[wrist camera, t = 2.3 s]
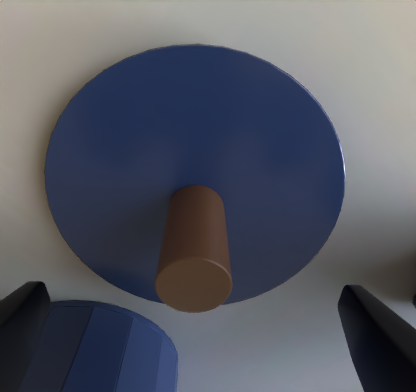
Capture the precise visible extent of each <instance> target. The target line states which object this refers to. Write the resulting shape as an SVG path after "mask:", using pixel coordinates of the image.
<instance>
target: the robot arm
mask: <svg viewBox="0 0 416 392" xmlns="http://www.w3.org/2000/svg"><path fill="white" fill-rule="evenodd" d="M412 303H413V305H414V306H415V308H416V295H415V297H414V299H413V302H412ZM50 306H51V301H50V297H49V295H48V292H47V289H46V286H45V284H44V283H43V282H41V281H30V282H27V283H25V284H24V285H22V286H21V287H20V288H18V289H17V290H15V291H14V292H13V293H11V294H10V295H8V296H7V297H6V298H4V299H3V300H1V301H0V392H18V391H19V389H20V387H21V384H22V382H23V380H24V378H25V376H26V373H27V371H28V369H29V367H30V364H31V362H32V360H33V357H34V354H35V351H36V348H37V345H38V342H39V339H40V336H41V334H42V331H43V328H44V325H45V322H46V319H47V316H48V313H49V310H50ZM338 312H339V315H340V319H341V322H342V326H343V330H344V333H345V337H346V340H347V344H348V348H349V351H350V355H351V358H352V361H353V364H354V367H355V369H356V372H357V374H358V377H359V380H360V382H361V385H362V387H363V390H364V392H416V329H415V328H413V327H412V326H411V325H410V324H408V323H407V322H406V321H405V320H403V319H402V318H401V317H400V316H398V315H397V314H396V313H395V312H393V311H392V310H391V309H389V308H388V307H387V306H386V305H384V304H383V303H382V302H381V301H379V300H378V299H377V298H376V297H374V296H373V295H372V294H371V293H369V292H368V291H367V290H366V289H364V288H363V287H362V286H360V285H345V286H344V288H343V290H342V293H341V296H340V298H339V301H338Z"/></svg>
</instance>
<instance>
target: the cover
mask: <svg viewBox="0 0 416 392" xmlns="http://www.w3.org/2000/svg"><path fill="white" fill-rule="evenodd" d="M45 189H46V194H47V199H48V204H49V208H50V210H51V213H52V216H53V218H54V221H55V223H56V225H57V227H58V229H59V231H60V233H61V235H62V237H63V238H64V239H65V241H66V242H67V244H68V245H69V246H70V248H71V249H72V251H73V252H74V253H75V254H76V255H77V256H78V257H79V258H80V259H81V261H82V262H83V263H85V264H86V265H87V266H88V267H89V268H90V269H91V270H93V271H94V272H95V273H96V274H98V275H99V276H100V277H102V278H103V279H105V280H106V281H108V282H109V283H111V284H113V285H115V286H116V287H118V288H120V289H122V290H124V291H126V292H129V293H131V294H133V295H135V296H138V297H141V298H144V299H147V300H151V301H155V302H159V303H163V304H166V305H167V306H169V307H171V308H173V309H175V310H178V311H182V312H188V313H199V312H205V311H209V310H212V309H214V308H216V307H218V306H220V305H225V304H230V303H235V302H239V301H243V300H246V299H249V298H252V297H255V296H258V295H260V294H263V293H265V292H267V291H270V290H271V289H273V288H275V287H277V286H279V285H280V284H282V283H284V282H285V281H287V280H288V279H290V278H291V277H293V276H294V275H295V274H297V273H298V272H299V271H300V270H301V269H302V268H304V267H305V266H306V265H307V264H308V263H309V262H310V261H311V260H312V259H313V258H314V257H315V255H316V254H317V253H318V252H319V251H320V249H321V248H322V246H323V245H324V244H325V242H326V241H327V239H328V237H329V236H330V234H331V232H332V230H333V228H334V226H335V224H336V221H337V219H338V216H339V213H340V211H341V206H342V202H343V197H344V190H345V166H344V157H343V153H342V149H341V145H340V141H339V138H338V136H337V134H336V131H335V129H334V127H333V124H332V122H331V121H330V119H329V117H328V116H327V114H326V113H325V111H324V109H323V108H322V106H321V105H320V104H319V103H318V101H317V100H316V99H315V98H314V97H313V96H312V95H311V93H310V92H309V91H308V90H307V89H306V88H305V87H304V86H302V85H301V84H300V83H299V82H298V81H296V80H295V79H294V78H293V77H292V76H290V75H289V74H288V73H286V72H284V71H283V70H281V69H279V68H278V67H276V66H274V65H273V64H271V63H269V62H268V61H265V60H263V59H261V58H258V57H256V56H253V55H251V54H249V53H246V52H243V51H239V50H235V49H231V48H227V47H223V46H214V45H204V44H183V45H171V46H166V47H160V48H155V49H150V50H147V51H144V52H142V53H139V54H136V55H133V56H130V57H128V58H125V59H123V60H122V61H120V62H118V63H116V64H114V65H112V66H111V67H109V68H107V69H105V70H103V71H102V72H101V73H100V74H98V75H97V76H96V77H94V78H93V79H92V80H90V81H89V82H88V83H86V84H85V85H84V87H83V88H82V89H81V90H80V91H79V92H78V93H77V94H76V95H75V96H74V97H73V98H72V99H71V101H70V102H69V104H68V105H67V106H66V108H65V109H64V111H63V112H62V114H61V115H60V117H59V119H58V121H57V123H56V126H55V128H54V130H53V132H52V134H51V138H50V142H49V145H48V149H47V153H46V162H45Z"/></svg>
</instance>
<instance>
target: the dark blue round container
mask: <svg viewBox="0 0 416 392" xmlns="http://www.w3.org/2000/svg"><path fill="white" fill-rule="evenodd" d="M177 380H178V356H177V352H176V349H175V346H174V344H173V343H172V341H171V339H170V338H169V337H168V336H167V335H166V333H165V332H164V331H163V330H161V329H160V328H159V327H158V326H157V325H155V324H154V323H152V322H151V321H149V320H148V319H146V318H144V317H142V316H140V315H139V314H136V313H134V312H132V311H129V310H127V309H123V308H120V307H117V306H113V305H109V304H105V303H99V302H91V301H60V302H53V303H51V306H50V310H49V313H48V316H47V319H46V322H45V325H44V328H43V331H42V334H41V336H40V339H39V342H38V345H37V348H36V351H35V354H34V357H33V360H32V362H31V364H30V367H29V369H28V371H27V373H26V376H25V378H24V380H23V382H22V384H21V387H20V389H19V391H18V392H177Z"/></svg>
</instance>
